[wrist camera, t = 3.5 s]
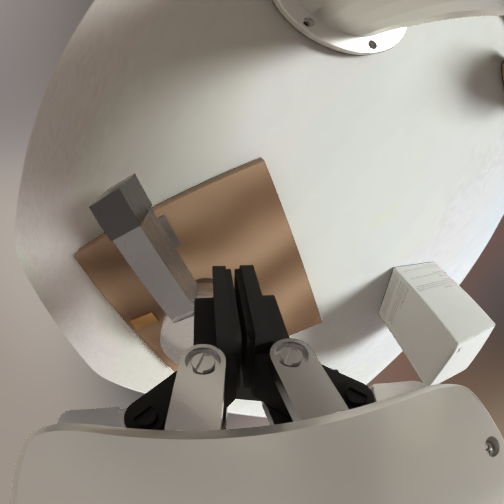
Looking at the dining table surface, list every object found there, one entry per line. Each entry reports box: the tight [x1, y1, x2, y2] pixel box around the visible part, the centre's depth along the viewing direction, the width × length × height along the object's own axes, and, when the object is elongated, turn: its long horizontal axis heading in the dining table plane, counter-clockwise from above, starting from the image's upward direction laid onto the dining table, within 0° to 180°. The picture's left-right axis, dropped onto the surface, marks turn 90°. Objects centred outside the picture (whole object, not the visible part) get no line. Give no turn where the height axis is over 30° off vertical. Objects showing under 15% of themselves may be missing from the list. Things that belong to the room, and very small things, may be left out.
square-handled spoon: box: [89, 174, 213, 365], centre depth 18 cm, size 16×7×3 cm, turn 22°
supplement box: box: [379, 262, 495, 386], centre depth 24 cm, size 7×7×13 cm
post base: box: [74, 158, 322, 372], centre depth 24 cm, size 18×18×4 cm
